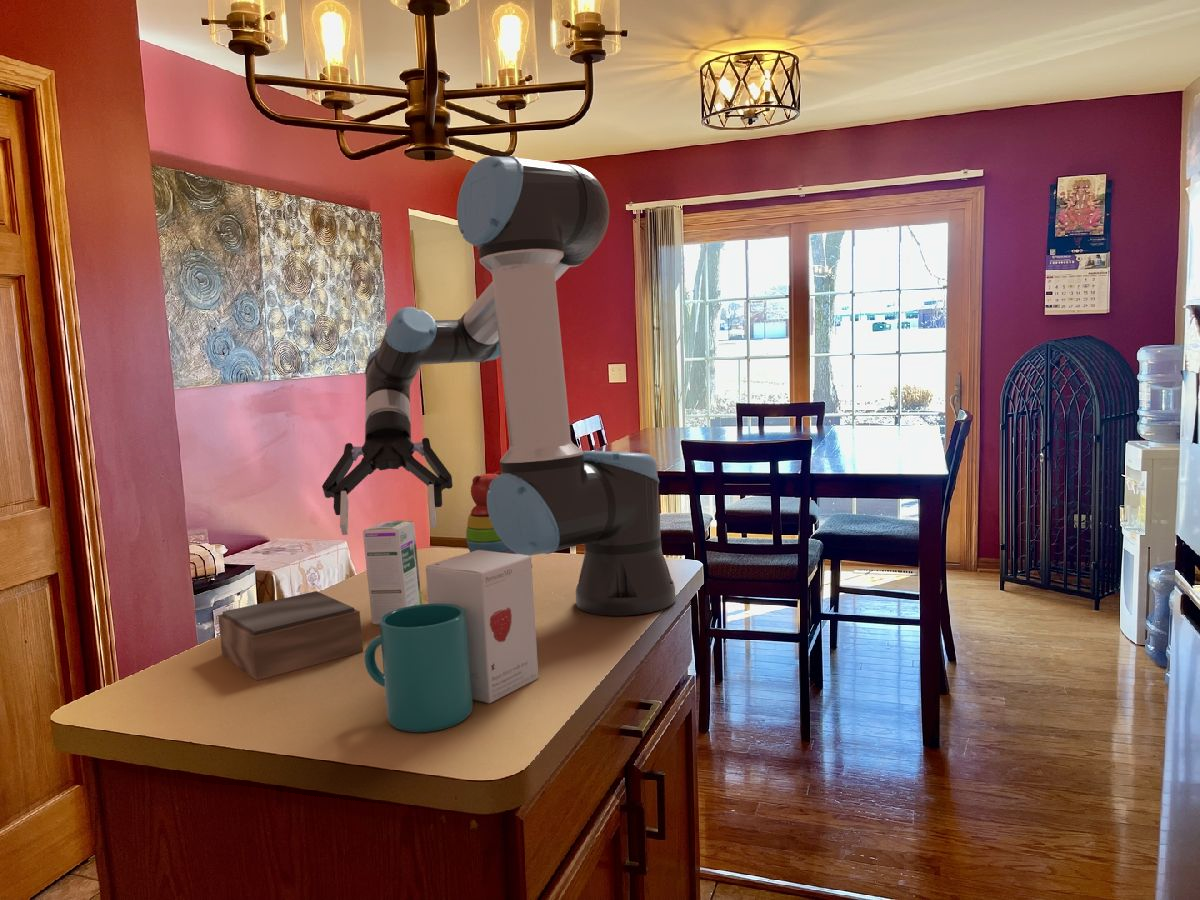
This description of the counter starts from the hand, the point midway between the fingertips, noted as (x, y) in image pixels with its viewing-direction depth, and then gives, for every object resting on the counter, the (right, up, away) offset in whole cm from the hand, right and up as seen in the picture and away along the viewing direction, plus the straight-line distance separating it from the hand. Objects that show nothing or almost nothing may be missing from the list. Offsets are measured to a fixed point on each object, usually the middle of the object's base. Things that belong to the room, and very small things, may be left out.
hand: (388, 526), depth 136 cm
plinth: (-9, -15, -18) cm, 25 cm away
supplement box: (+20, -16, -34) cm, 42 cm away
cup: (+13, -17, -41) cm, 47 cm away
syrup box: (+2, -14, -5) cm, 15 cm away
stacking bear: (+14, -10, +21) cm, 28 cm away
